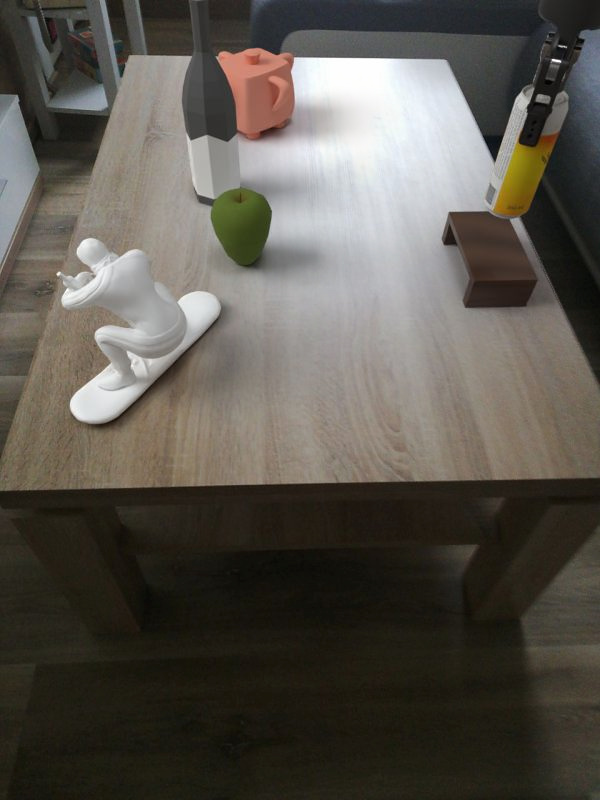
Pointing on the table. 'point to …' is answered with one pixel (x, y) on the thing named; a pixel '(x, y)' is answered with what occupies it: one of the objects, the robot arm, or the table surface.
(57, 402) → the table surface
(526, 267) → the shelf
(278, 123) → the teapot
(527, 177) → the beer can
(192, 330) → the figurine
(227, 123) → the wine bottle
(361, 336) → the table surface
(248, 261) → the apple
